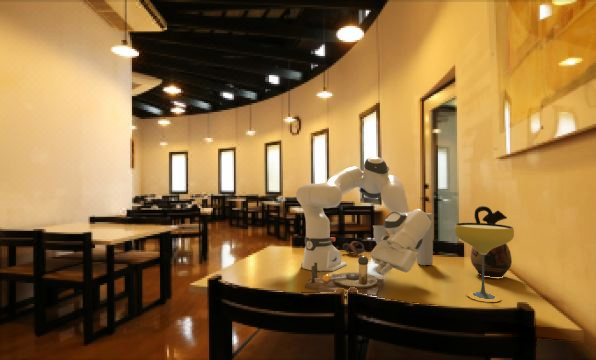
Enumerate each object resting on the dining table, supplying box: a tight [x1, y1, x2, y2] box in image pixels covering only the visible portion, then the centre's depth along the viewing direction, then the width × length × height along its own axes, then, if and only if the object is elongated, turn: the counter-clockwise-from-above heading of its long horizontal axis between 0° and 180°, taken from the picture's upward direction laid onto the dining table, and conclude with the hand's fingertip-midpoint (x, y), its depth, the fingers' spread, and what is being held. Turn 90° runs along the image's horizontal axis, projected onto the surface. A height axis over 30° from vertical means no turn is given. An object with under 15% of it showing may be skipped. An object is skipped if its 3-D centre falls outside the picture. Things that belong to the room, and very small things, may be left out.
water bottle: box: [416, 212, 434, 266], centre depth 169 cm, size 9×8×25 cm
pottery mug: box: [342, 240, 365, 257], centre depth 190 cm, size 12×10×8 cm
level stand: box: [304, 263, 384, 297], centre depth 130 cm, size 20×26×8 cm
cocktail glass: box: [454, 222, 515, 299], centre depth 120 cm, size 18×18×25 cm
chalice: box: [372, 225, 387, 265], centre depth 172 cm, size 7×7×18 cm
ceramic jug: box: [470, 205, 513, 277], centre depth 148 cm, size 17×15×30 cm
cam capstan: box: [321, 255, 377, 288], centre depth 128 cm, size 17×22×11 cm
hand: (379, 273), depth 126 cm, fingers closed
